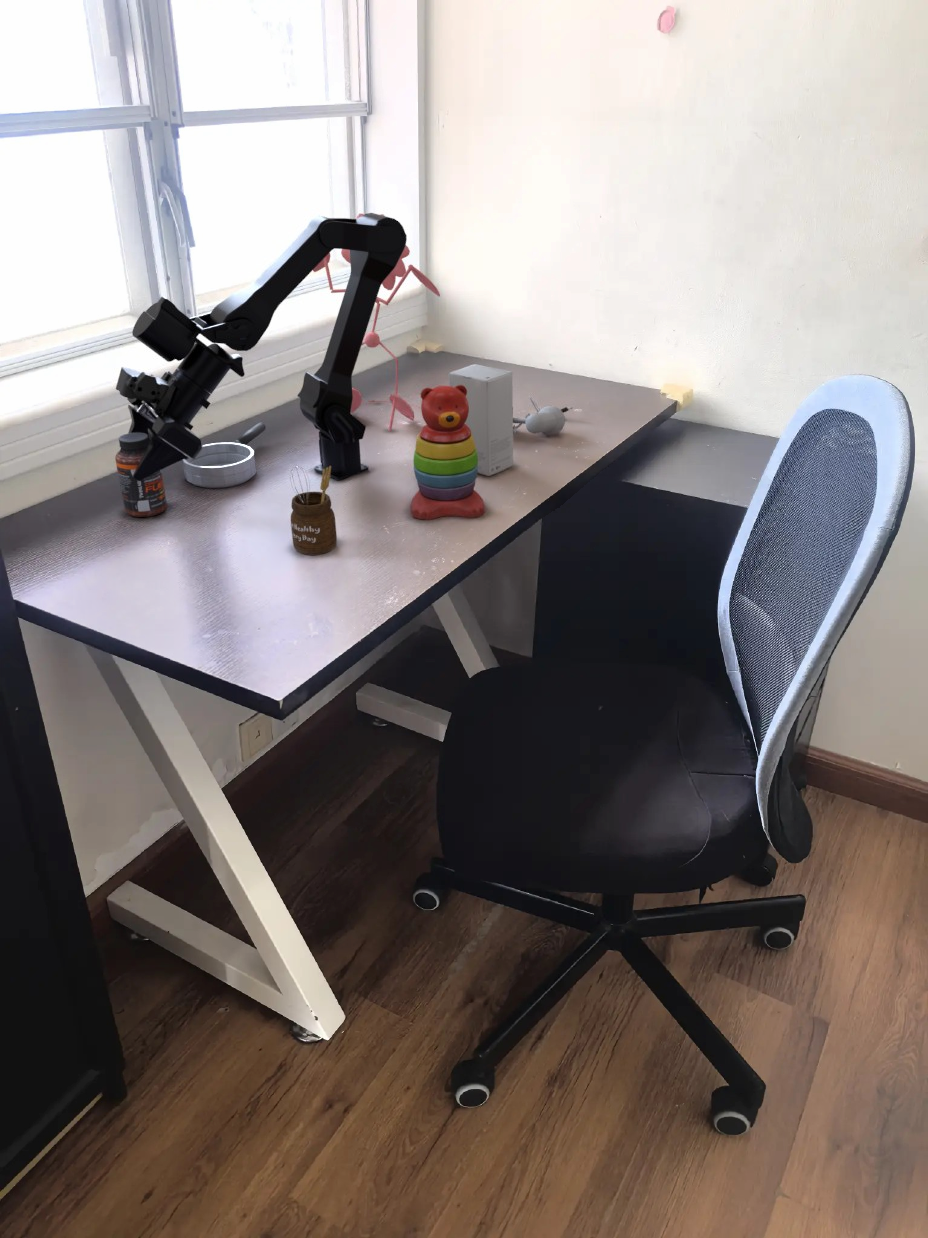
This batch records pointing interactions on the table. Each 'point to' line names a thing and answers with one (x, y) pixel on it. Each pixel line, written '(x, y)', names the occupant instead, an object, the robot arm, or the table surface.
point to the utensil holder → (313, 519)
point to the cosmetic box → (489, 414)
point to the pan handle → (248, 436)
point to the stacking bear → (445, 457)
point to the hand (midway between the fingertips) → (128, 469)
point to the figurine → (372, 337)
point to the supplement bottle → (137, 494)
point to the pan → (220, 466)
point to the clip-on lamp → (543, 420)
